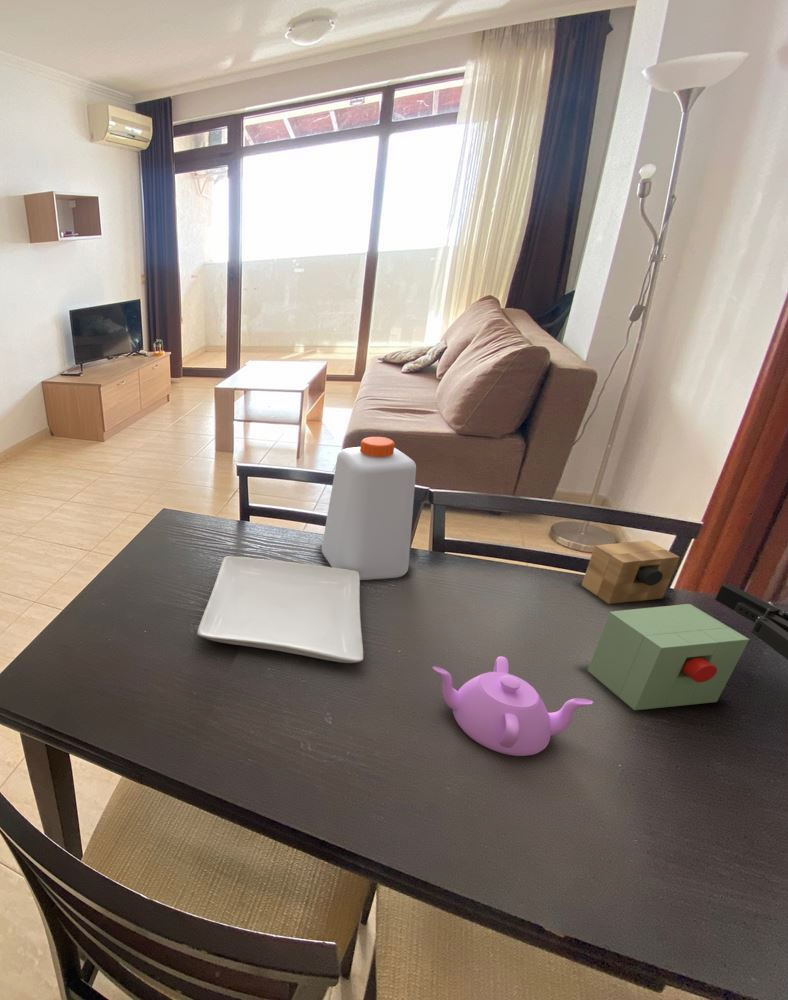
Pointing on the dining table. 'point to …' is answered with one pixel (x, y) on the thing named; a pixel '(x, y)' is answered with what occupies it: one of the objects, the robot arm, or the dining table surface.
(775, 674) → the dining table surface
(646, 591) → the wooden button box
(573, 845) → the dining table surface
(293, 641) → the square plate
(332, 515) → the plastic bottle
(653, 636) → the green box
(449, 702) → the teapot
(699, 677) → the red button
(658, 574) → the black button
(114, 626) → the dining table surface
